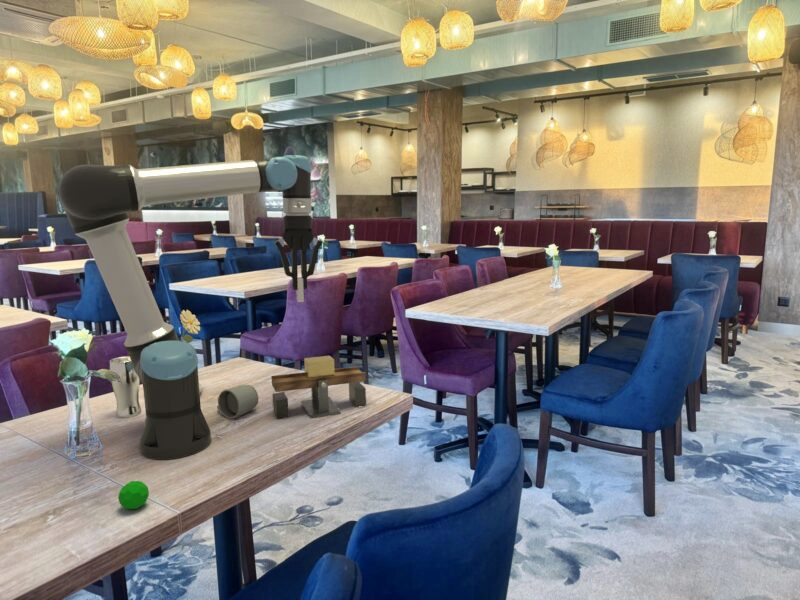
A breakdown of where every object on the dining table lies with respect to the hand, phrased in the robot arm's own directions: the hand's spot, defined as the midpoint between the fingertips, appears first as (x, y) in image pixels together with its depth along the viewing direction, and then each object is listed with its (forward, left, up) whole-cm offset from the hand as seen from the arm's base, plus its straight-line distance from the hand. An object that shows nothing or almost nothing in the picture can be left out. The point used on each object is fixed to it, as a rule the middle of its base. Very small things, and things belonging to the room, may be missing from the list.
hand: (300, 301), depth 154 cm
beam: (+2, -10, -20) cm, 22 cm away
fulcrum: (+2, -10, -28) cm, 30 cm away
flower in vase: (-32, +17, -28) cm, 46 cm away
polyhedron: (-41, -46, -28) cm, 68 cm away
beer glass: (-46, +7, -28) cm, 54 cm away
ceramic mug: (-19, -4, -28) cm, 35 cm away
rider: (+2, -10, -19) cm, 22 cm away
